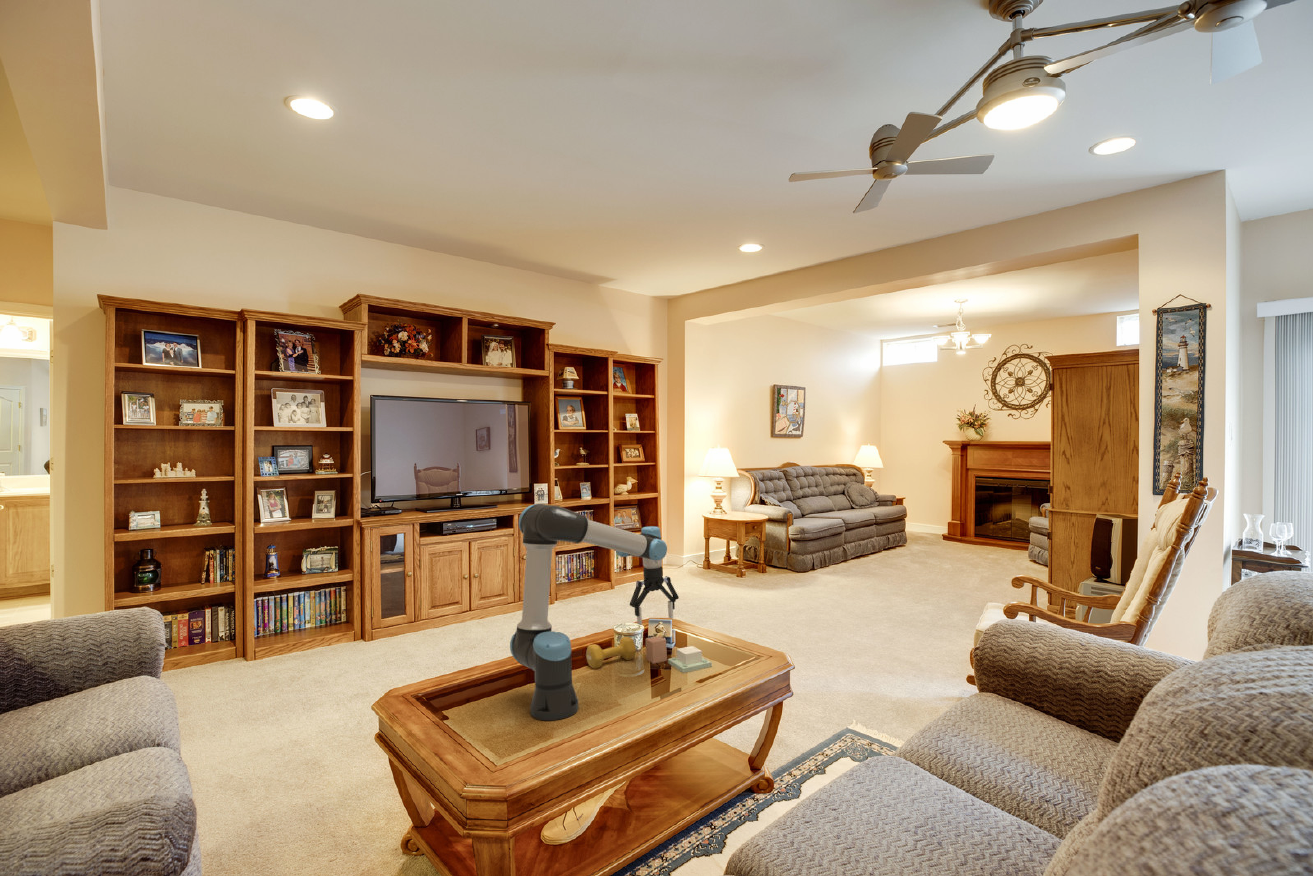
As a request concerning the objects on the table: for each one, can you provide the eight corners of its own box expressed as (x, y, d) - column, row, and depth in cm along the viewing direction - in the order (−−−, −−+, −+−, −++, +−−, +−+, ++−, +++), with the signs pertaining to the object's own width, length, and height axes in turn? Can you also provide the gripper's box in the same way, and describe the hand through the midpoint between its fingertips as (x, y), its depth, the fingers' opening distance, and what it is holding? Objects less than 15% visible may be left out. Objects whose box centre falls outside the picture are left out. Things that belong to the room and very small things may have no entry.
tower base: (683, 673, 220) (682, 657, 220) (668, 663, 230) (667, 648, 231) (711, 666, 225) (710, 651, 225) (695, 657, 236) (694, 642, 236)
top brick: (653, 663, 231) (652, 642, 231) (646, 659, 236) (645, 638, 236) (666, 660, 234) (666, 639, 234) (660, 656, 239) (659, 635, 239)
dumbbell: (627, 654, 243) (626, 634, 243) (638, 660, 235) (637, 639, 235) (584, 665, 233) (583, 643, 233) (594, 671, 225) (593, 649, 225)
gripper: (627, 572, 227) (630, 629, 227) (685, 563, 238) (688, 617, 238) (619, 569, 234) (622, 624, 233) (676, 561, 245) (679, 613, 244)
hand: (655, 621), depth 235 cm, fingers open, 13 cm apart
